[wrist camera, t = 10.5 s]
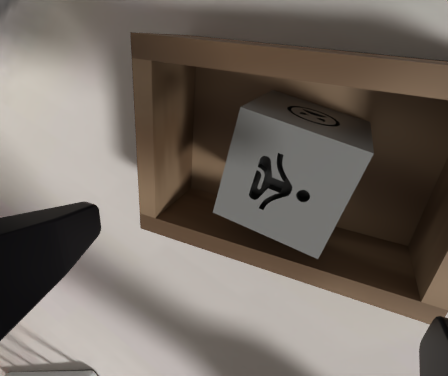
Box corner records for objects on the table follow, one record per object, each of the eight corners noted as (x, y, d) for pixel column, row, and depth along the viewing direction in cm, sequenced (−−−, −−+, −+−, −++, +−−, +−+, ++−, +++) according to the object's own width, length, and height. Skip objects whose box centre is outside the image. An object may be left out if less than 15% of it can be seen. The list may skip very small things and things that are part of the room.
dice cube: (272, 89, 16) (240, 106, 12) (370, 122, 15) (373, 153, 10) (246, 173, 18) (212, 212, 14) (328, 206, 17) (317, 259, 13)
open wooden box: (419, 257, 17) (438, 327, 13) (183, 192, 22) (140, 228, 17) (510, 67, 13) (585, 79, 8) (187, 35, 17) (130, 32, 13)
